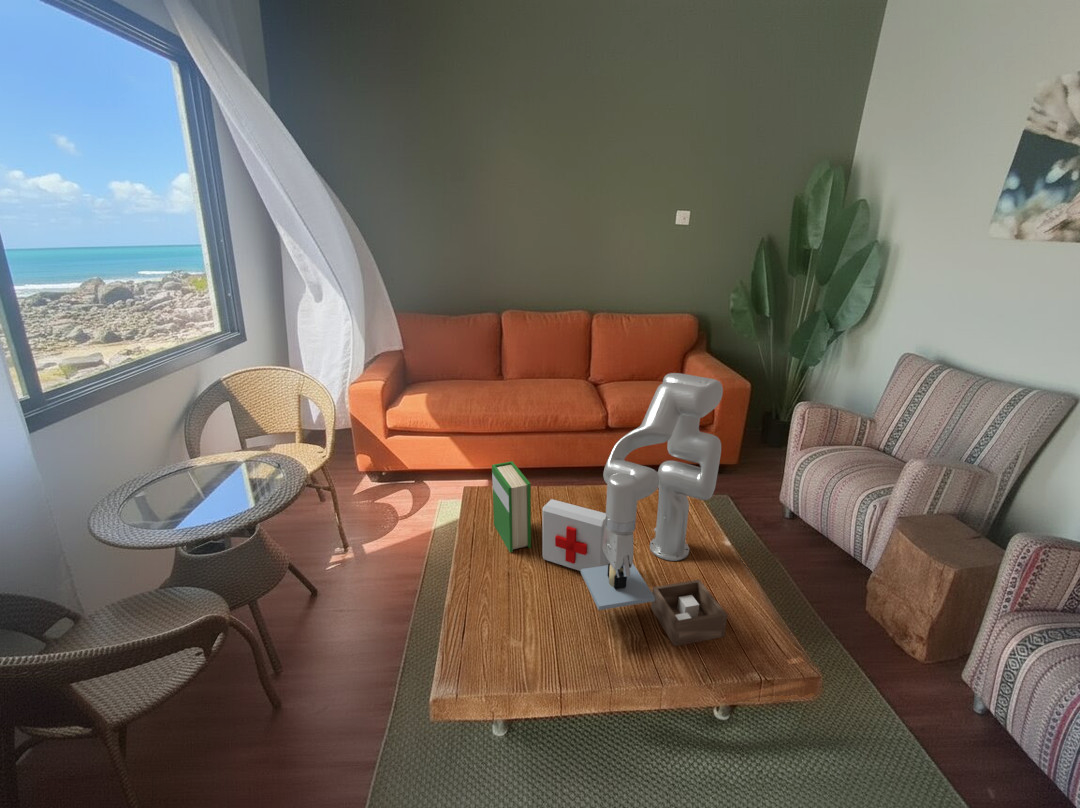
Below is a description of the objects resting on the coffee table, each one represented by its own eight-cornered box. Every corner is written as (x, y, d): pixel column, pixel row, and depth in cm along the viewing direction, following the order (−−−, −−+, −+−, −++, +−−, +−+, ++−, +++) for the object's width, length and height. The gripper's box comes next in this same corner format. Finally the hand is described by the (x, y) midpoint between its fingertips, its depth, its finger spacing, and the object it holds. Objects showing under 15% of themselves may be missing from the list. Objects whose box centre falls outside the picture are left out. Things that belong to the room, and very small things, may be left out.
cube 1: (677, 608, 142) (678, 597, 141) (690, 606, 143) (691, 594, 142) (684, 619, 138) (685, 607, 137) (697, 616, 139) (699, 604, 138)
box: (650, 610, 143) (652, 587, 140) (696, 602, 146) (699, 579, 143) (674, 649, 130) (676, 623, 127) (723, 639, 133) (727, 614, 130)
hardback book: (531, 548, 171) (530, 483, 163) (510, 553, 168) (508, 488, 160) (513, 521, 186) (512, 461, 178) (494, 525, 183) (491, 464, 175)
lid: (580, 572, 141) (581, 553, 139) (631, 565, 144) (633, 546, 142) (598, 610, 127) (599, 589, 125) (654, 601, 130) (656, 580, 128)
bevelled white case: (538, 563, 163) (538, 508, 156) (550, 549, 170) (550, 496, 163) (600, 583, 154) (603, 525, 147) (610, 568, 160) (613, 512, 154)
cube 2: (672, 627, 136) (673, 615, 134) (686, 624, 136) (687, 612, 135) (679, 638, 132) (681, 626, 131) (693, 635, 133) (695, 623, 131)
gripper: (595, 506, 136) (592, 564, 142) (618, 542, 121) (614, 605, 127) (622, 503, 138) (618, 561, 144) (648, 538, 122) (642, 601, 128)
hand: (616, 581), depth 135 cm, fingers closed on lid, 4 cm apart
